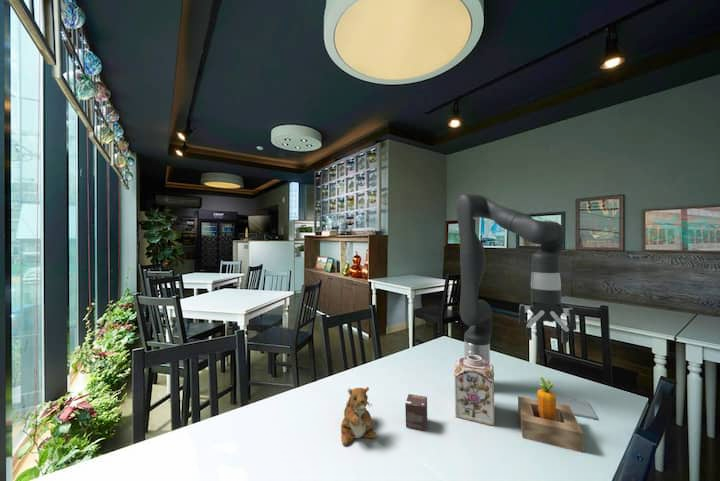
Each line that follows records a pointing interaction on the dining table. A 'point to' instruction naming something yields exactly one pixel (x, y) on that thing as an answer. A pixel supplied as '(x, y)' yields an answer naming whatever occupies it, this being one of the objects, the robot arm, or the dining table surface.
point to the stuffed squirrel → (356, 417)
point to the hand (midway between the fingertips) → (546, 341)
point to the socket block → (550, 425)
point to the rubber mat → (577, 407)
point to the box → (416, 412)
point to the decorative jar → (474, 389)
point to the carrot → (546, 401)
